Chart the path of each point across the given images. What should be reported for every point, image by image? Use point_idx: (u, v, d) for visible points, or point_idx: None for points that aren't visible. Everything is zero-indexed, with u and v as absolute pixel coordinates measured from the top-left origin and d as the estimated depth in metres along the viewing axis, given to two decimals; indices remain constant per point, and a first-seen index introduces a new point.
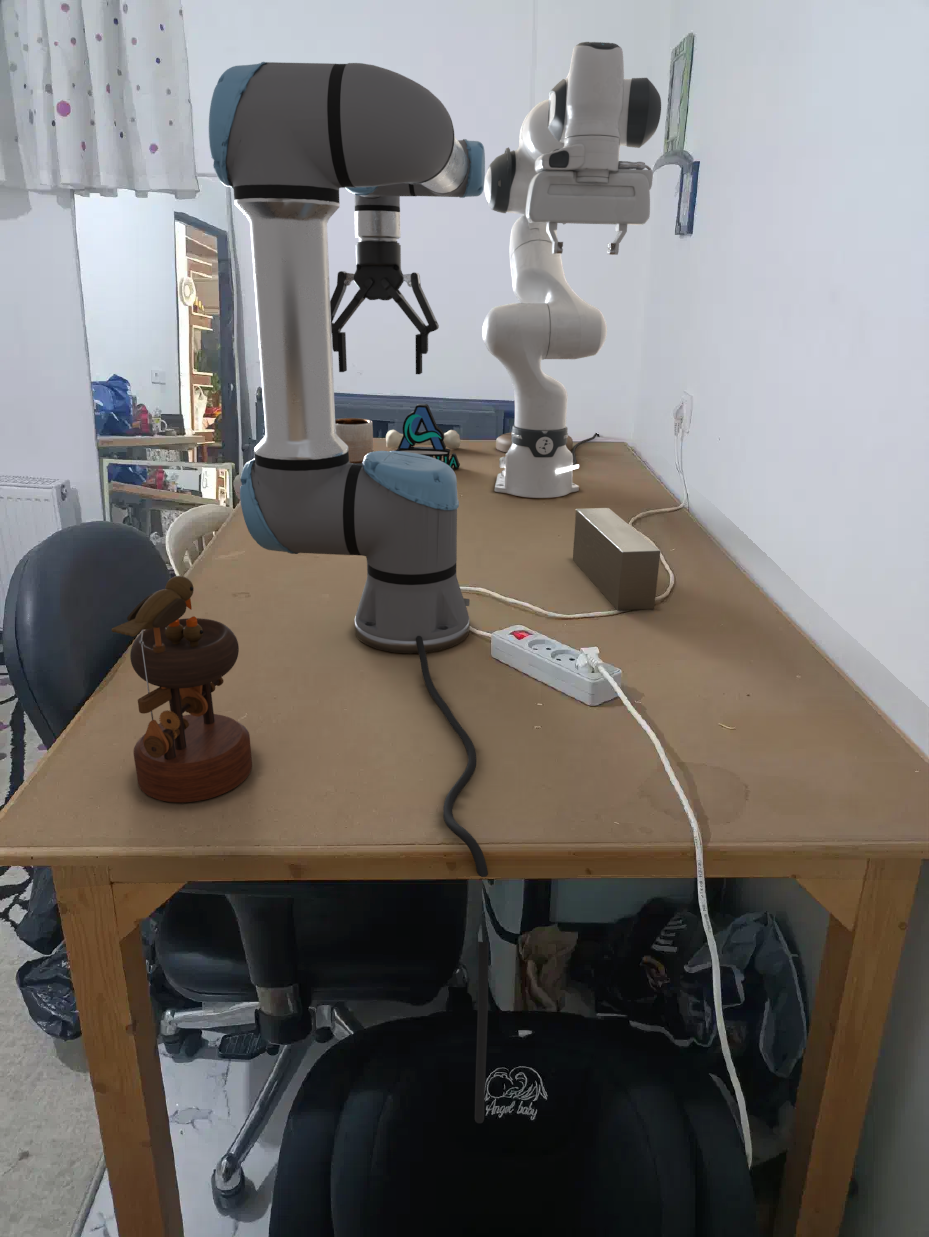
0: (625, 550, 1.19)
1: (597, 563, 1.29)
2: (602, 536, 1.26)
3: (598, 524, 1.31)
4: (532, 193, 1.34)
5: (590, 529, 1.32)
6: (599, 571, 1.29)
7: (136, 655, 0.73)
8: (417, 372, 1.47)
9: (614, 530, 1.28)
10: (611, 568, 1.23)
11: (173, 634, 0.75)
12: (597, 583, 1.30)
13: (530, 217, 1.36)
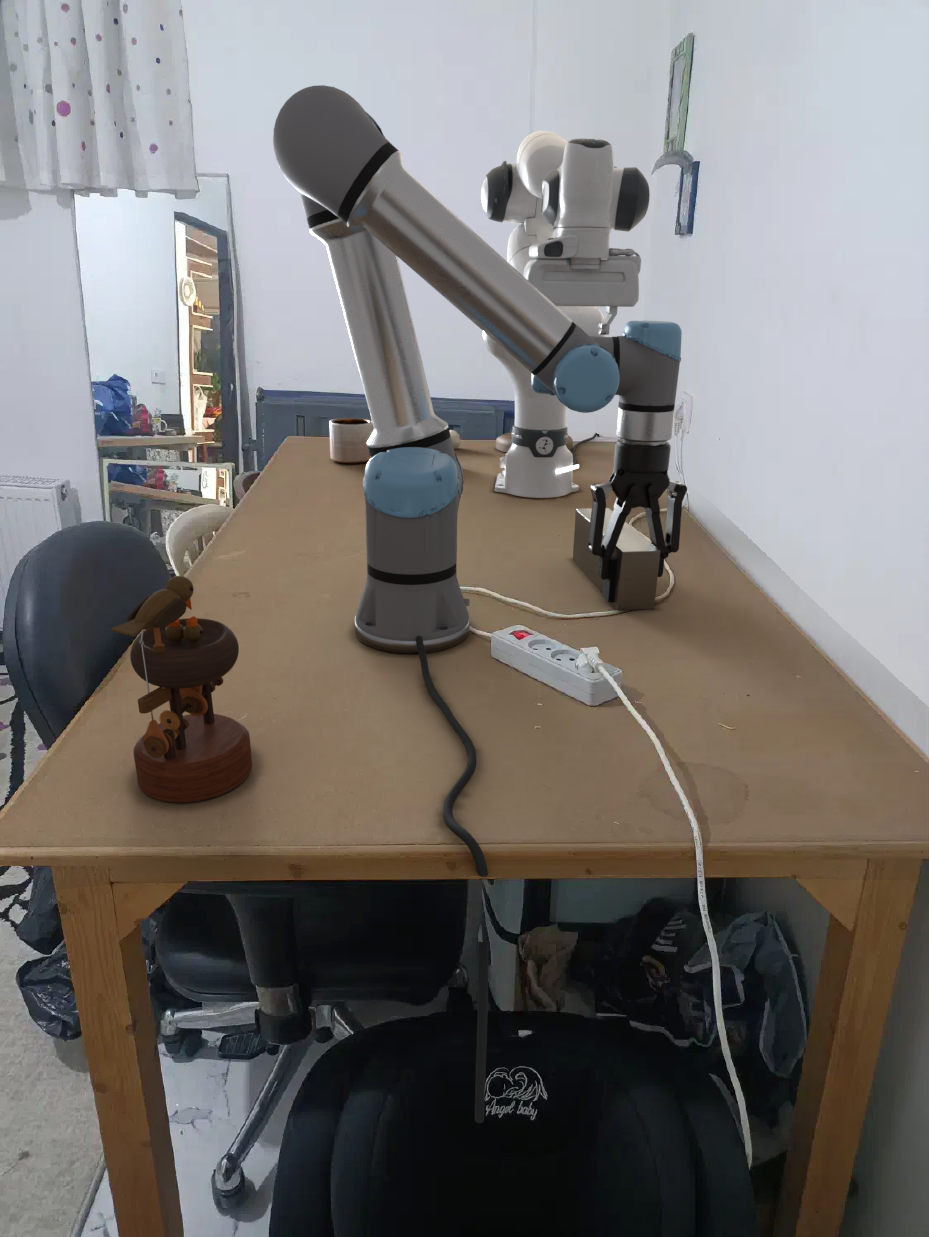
0: (625, 550, 1.19)
1: (597, 563, 1.29)
2: (602, 536, 1.26)
3: None
4: (528, 280, 1.40)
5: None
6: None
7: (136, 655, 0.73)
8: None
9: None
10: None
11: (173, 634, 0.75)
12: (597, 583, 1.30)
13: None
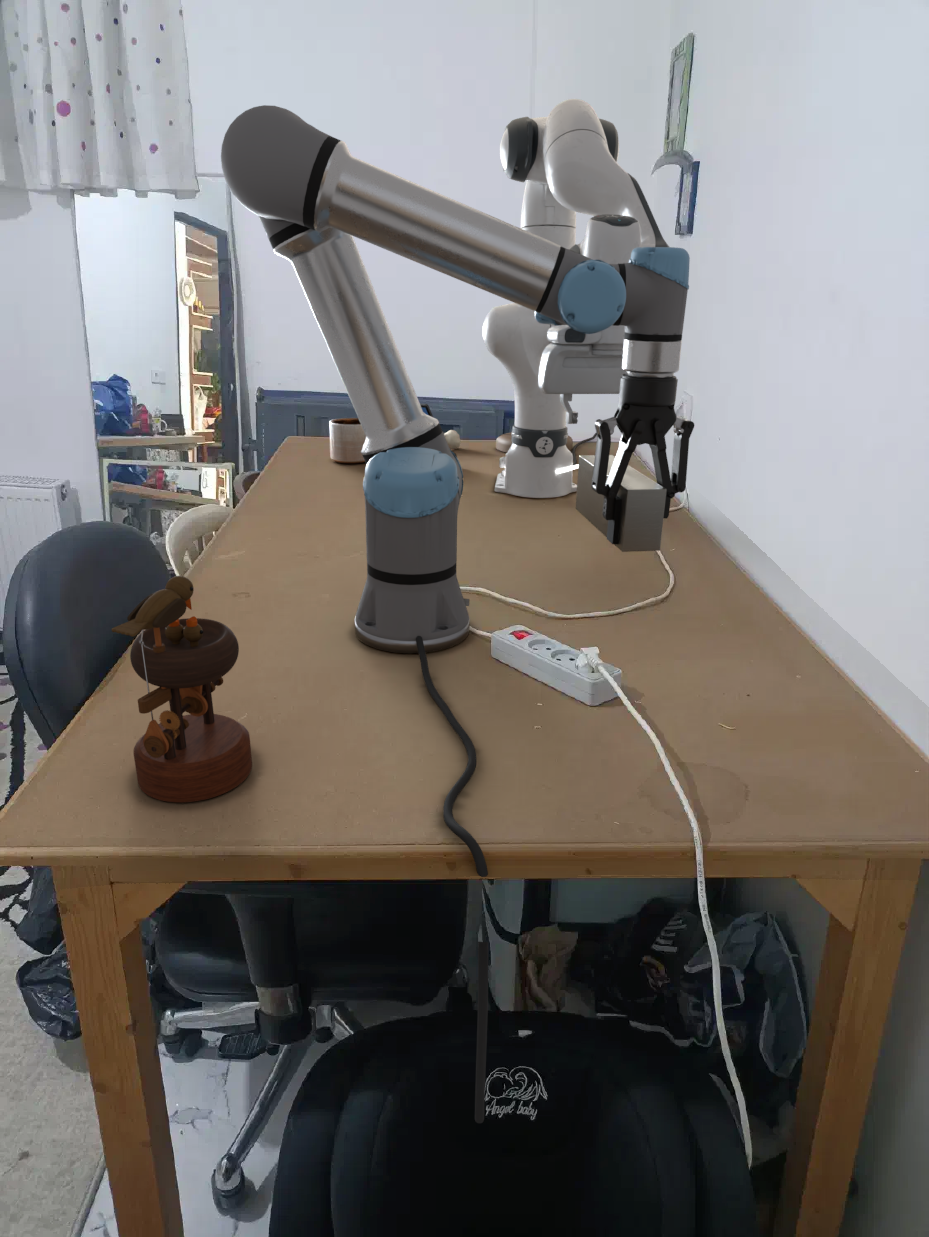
0: (630, 488, 1.15)
1: (601, 507, 1.26)
2: (606, 478, 1.23)
3: None
4: (546, 367, 1.27)
5: None
6: None
7: (136, 655, 0.73)
8: None
9: None
10: None
11: (173, 634, 0.75)
12: (601, 528, 1.26)
13: (544, 390, 1.29)
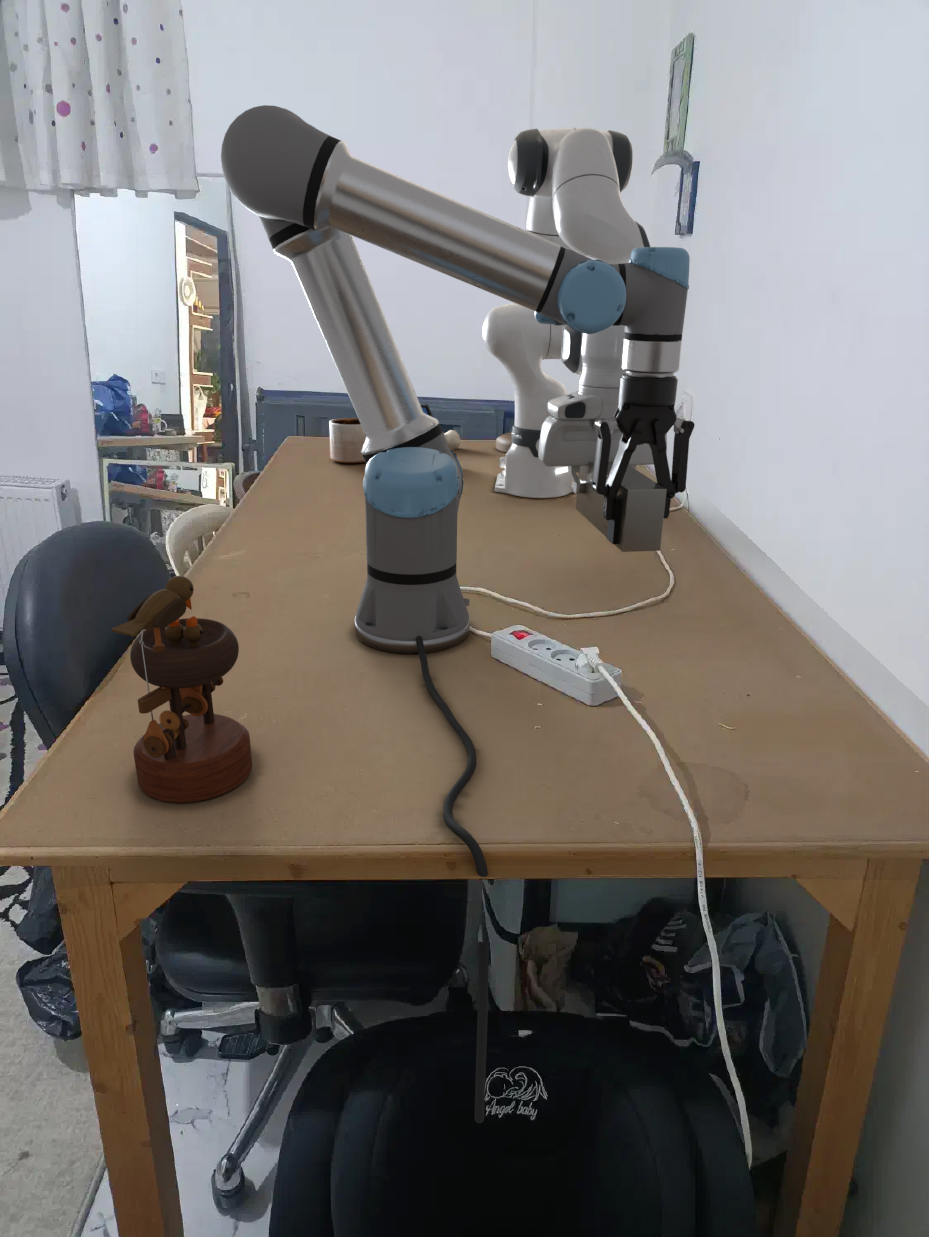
0: (630, 488, 1.15)
1: (602, 507, 1.26)
2: (606, 478, 1.23)
3: None
4: (547, 441, 1.29)
5: None
6: None
7: (136, 655, 0.73)
8: None
9: None
10: None
11: (173, 634, 0.75)
12: (601, 528, 1.26)
13: (544, 462, 1.30)
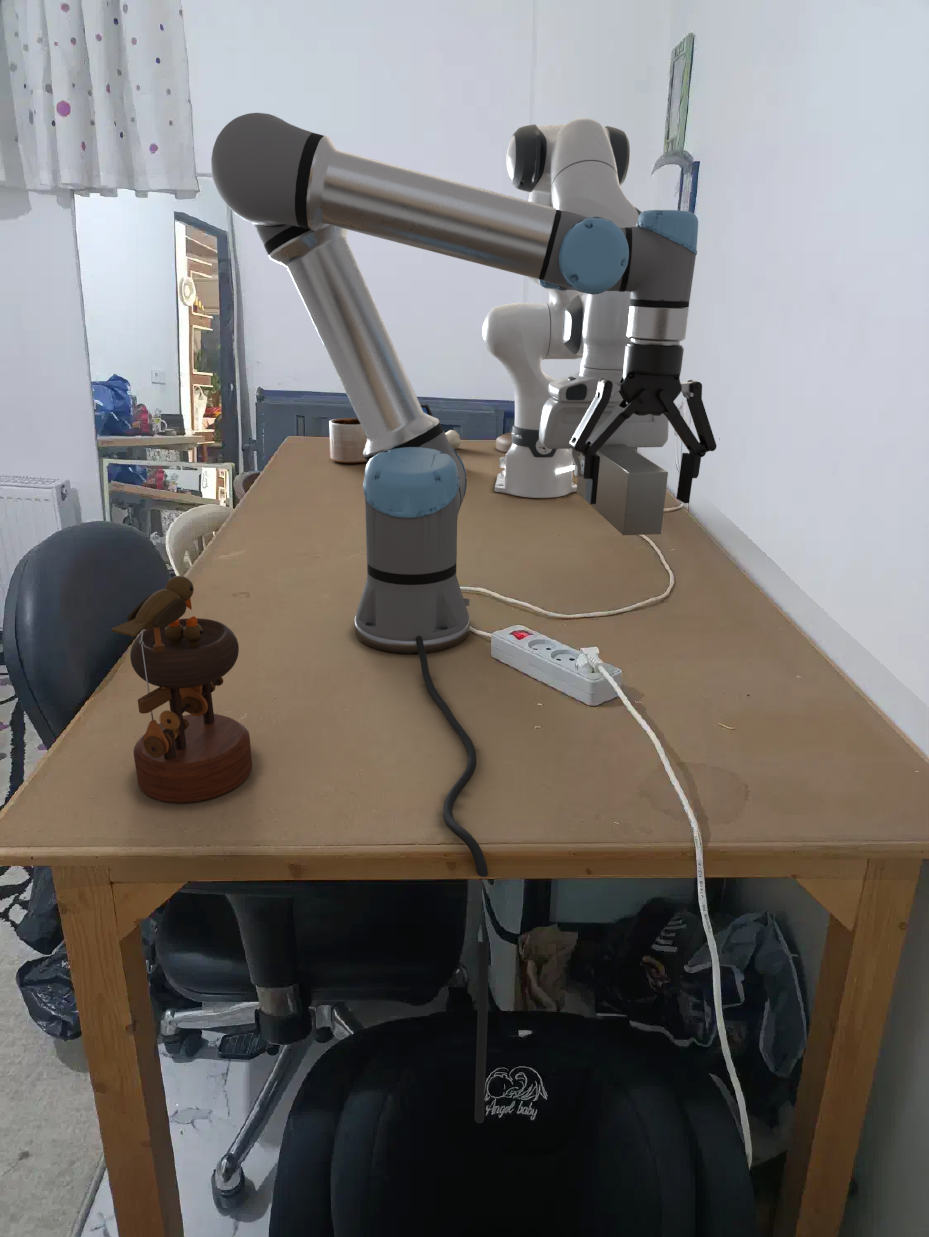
0: (631, 471, 1.15)
1: (602, 490, 1.25)
2: (607, 461, 1.22)
3: (604, 450, 1.27)
4: (547, 423, 1.28)
5: None
6: (604, 498, 1.25)
7: (136, 655, 0.73)
8: (686, 501, 1.18)
9: (620, 455, 1.24)
10: (617, 492, 1.19)
11: (173, 634, 0.75)
12: (602, 511, 1.26)
13: (545, 445, 1.30)
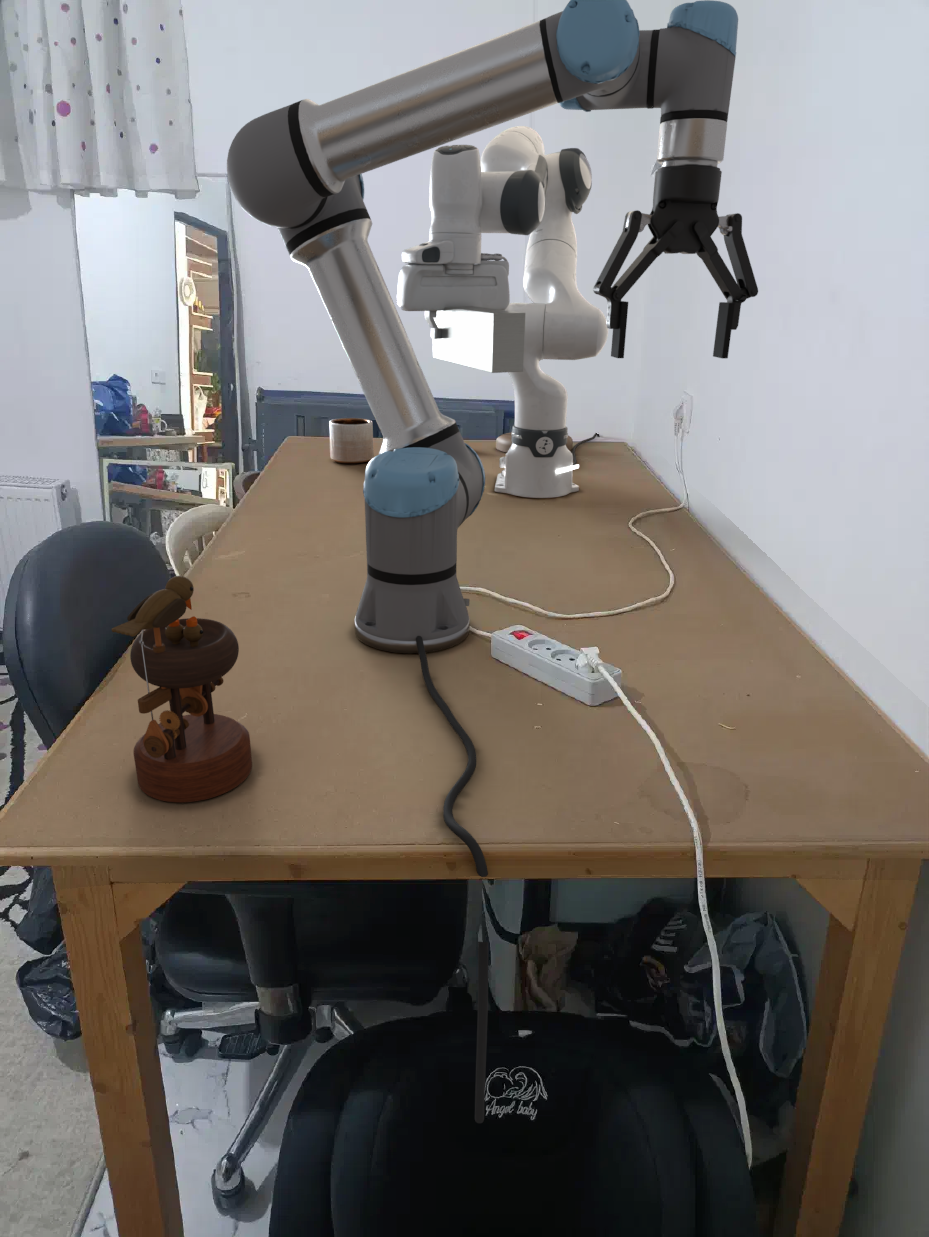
0: (495, 313, 1.30)
1: (464, 342, 1.39)
2: (467, 313, 1.37)
3: None
4: (407, 285, 1.40)
5: (452, 314, 1.42)
6: (467, 349, 1.39)
7: (136, 655, 0.73)
8: (724, 355, 1.06)
9: None
10: (482, 336, 1.34)
11: (173, 634, 0.75)
12: (465, 361, 1.40)
13: (405, 307, 1.42)
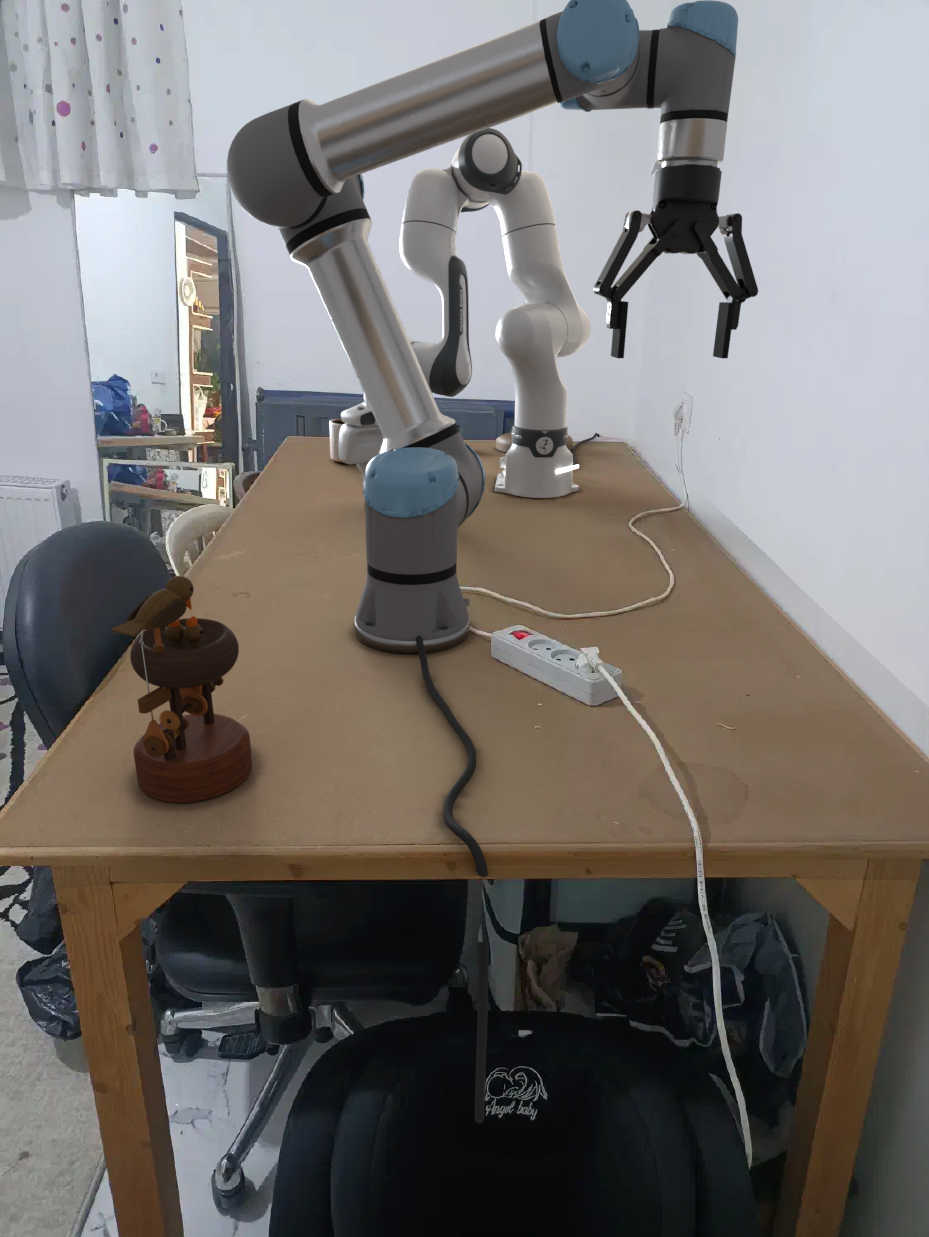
0: None
1: None
2: None
3: None
4: (348, 444, 1.62)
5: None
6: None
7: (136, 655, 0.73)
8: (724, 355, 1.06)
9: None
10: None
11: (173, 634, 0.75)
12: None
13: (347, 461, 1.63)
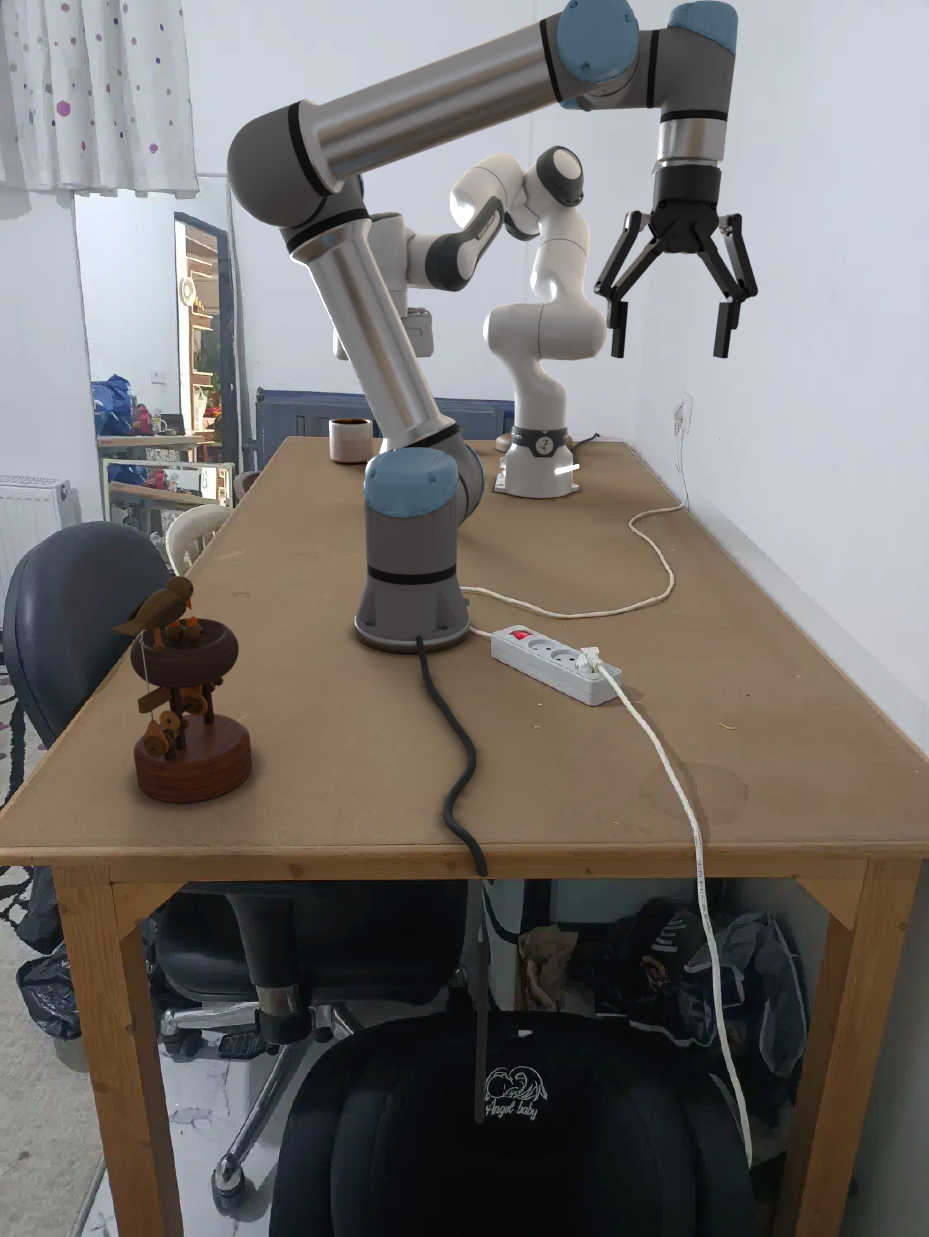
0: None
1: None
2: None
3: None
4: None
5: None
6: None
7: (136, 655, 0.73)
8: (724, 355, 1.06)
9: None
10: None
11: (173, 634, 0.75)
12: None
13: (342, 357, 1.56)
